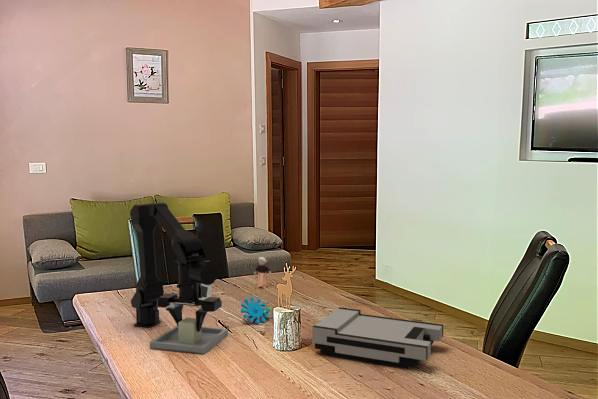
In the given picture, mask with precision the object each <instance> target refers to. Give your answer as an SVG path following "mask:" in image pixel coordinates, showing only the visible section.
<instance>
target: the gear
mask: <svg viewBox="0 0 598 399" xmlns="http://www.w3.org/2000/svg"><path fill="white" fill-rule="evenodd" d="M249 300H250V302H249ZM254 301H255V297H254V296H250V299H249V298H244V300H243V301H242V302H241V304H240V306H241V308H240V313H244V314H243V315H242V316H243V319H247V318H248V322H249V324H252V323H253V322H254V320H255V319H256V320H255V322H254V323H255V325H259V324H261V323H265V322H266V319H268V317H269V316H270V314H269V312H271V310H272V307H270V306H269V307H266V306H267V304H266V302H265V301H263V302H262V303H260V302H261V298H259V297H258V298H257V299H256V301H255V302H254ZM260 319H261V320H260Z"/></svg>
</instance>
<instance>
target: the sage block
mask: <svg viewBox="0 0 598 399" xmlns="http://www.w3.org/2000/svg"><path fill="white" fill-rule="evenodd" d="M178 334H179V342H182V343H192V344H194V343H196V342H197V341H198V340H200V339H201V338H202V332H201V330H200V331H199V332H198V331H197V325H196V317H185V318H182V320H181V321H180V322H178Z"/></svg>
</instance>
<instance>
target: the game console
mask: <svg viewBox="0 0 598 399" xmlns="http://www.w3.org/2000/svg"><path fill="white" fill-rule="evenodd" d="M311 331H312V332H311V333H312V335H311V336H312V338H311V340H312V341H311V342H312V343H313V344H314V349H317V350H320V355H322V356H328V357H333V358H339V359H346V360H351V361H355V362H356V361H358V362H362V363H369V364H374V365H375V364H376V365H383V366H386V367H394V368H399V369H407V370H408V369H409V368H410V367H411V365H415V366H418V365H419V363H420V361H425V362H426V361H427V360H428V358H430V356H431V355H432V353H431V352H432V345H433V344H434V342H440V341H441V340H442V338H443V337H444V324H441V323H435V322H434V323H433V322H426V321H417V320H411V319H410V320H409V319H401V318H395V317H386V316H379V315H372V314H364V313H361V309H356V308H354V309H353V308H345V307H339V308H337V309H335V310H334V311H333V312H331V313H330V314H329V315H327V316H326V317H324V318H323V319H322V320H320V321H319V322H318V323H315V324H314V325H313V326H312V328H311Z"/></svg>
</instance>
